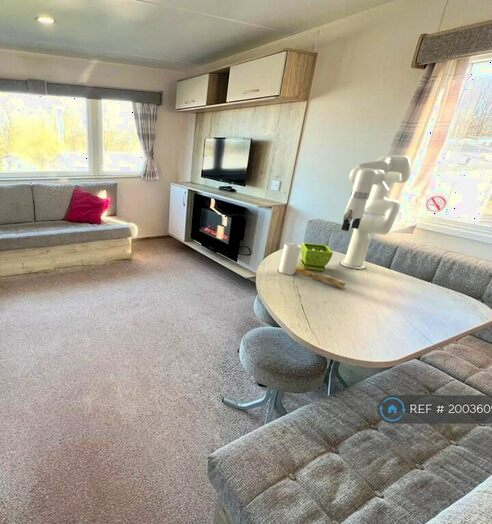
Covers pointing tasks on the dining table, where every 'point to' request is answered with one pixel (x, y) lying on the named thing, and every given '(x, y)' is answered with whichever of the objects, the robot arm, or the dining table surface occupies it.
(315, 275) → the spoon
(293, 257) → the cup
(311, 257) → the flower pot
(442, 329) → the dining table surface
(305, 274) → the breadstick
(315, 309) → the dining table surface
